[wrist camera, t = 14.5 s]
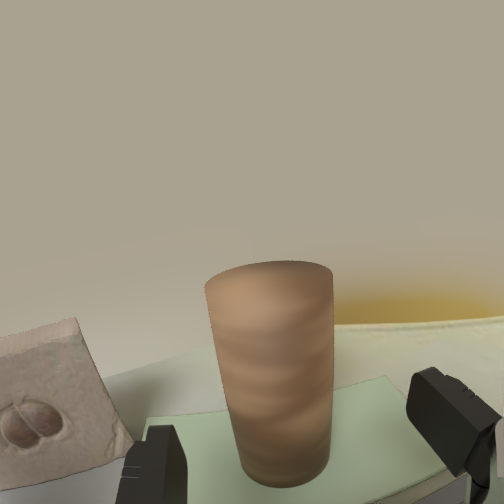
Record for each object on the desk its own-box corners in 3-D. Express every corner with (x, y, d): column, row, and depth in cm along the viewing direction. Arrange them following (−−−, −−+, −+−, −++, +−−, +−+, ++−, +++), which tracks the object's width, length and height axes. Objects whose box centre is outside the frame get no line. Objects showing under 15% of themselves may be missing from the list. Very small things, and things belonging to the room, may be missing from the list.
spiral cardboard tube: (245, 495, 12) (203, 312, 10) (236, 433, 17) (205, 270, 15) (341, 474, 13) (354, 287, 10) (315, 418, 18) (310, 255, 15)
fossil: (-5, 495, 9) (-86, 377, 7) (-6, 463, 12) (-71, 352, 10) (141, 454, 16) (88, 327, 14) (124, 425, 19) (80, 308, 17)
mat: (128, 533, 10) (125, 530, 9) (148, 420, 19) (147, 417, 19) (455, 463, 11) (457, 459, 11) (384, 379, 21) (385, 375, 21)
